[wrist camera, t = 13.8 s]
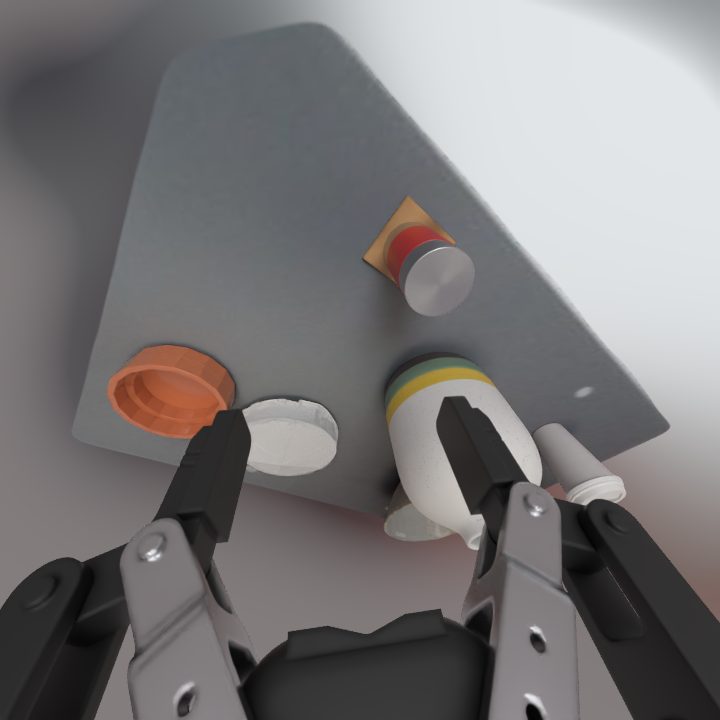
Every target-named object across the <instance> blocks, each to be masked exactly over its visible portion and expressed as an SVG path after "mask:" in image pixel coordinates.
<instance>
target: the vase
mask: <svg viewBox="0 0 720 720" xmlns="http://www.w3.org/2000/svg"><path fill="white" fill-rule="evenodd" d="M447 396H465V397H466V398H467V400H468V402H469V403H470V405H471V407H472V408H479V409H480V410H481V411H482V412H483V413H484V414H486V415H487V416H488V417H489V419H490V420H491V422H492V423H493V425H494V426H495V428H496V431H498V433H499V434H500V436H501V438H502V441H504V442H505V444H506V445H507V447H508V449H509V450H510V452H511V453H512V455H513V457H514V458H515V460H516V461H517V463H518V464H519V466H520V468H521V469H522V471H523V472H524V474H525V476H526V477H527V478H528V480H529V481H530V482H531V483H533V484H536V485H538V486H540V483H541V478H542V465H541V459H540V456H539V452H538V449H537V447H536V445H535V442H534V440H533V439H532V437H531V435H530V434H529V432H528V430H527V429H526V428H525V426H524V425H523V423H522V422H521V421H520V419H519V418H518V417H517V415H516V414H515V412H514V411H513V410H512V408H511V407H510V406H509V404H508V403H507V402H506V400H505V399H504V398H503V396H502V395H501V394H500V392H499V391H498V390H497V388H496V387H495V386H494V384H493V383H492V382H491V380H490V379H489V378H488V376H487V375H486V374H485V373H484V372H483V370H482V369H481V368H480V367H478V366H477V365H476V364H475V363H474V362H472V361H471V360H469V359H467V358H465V357H463V356H460V355H458V354H454V353H449V352H433V353H428V354H424V355H421V356H418V357H416V358H414V359H412V360H410V361H408V362H407V363H405V364H404V365H403V366H401V367H400V368H399V369H398V370H397V371H396V372H395V374H394V375H393V376H392V378H391V379H390V381H389V383H388V386H387V389H386V393H385V399H384V407H385V415H386V420H387V425H388V430H389V434H390V439H391V443H392V448H393V452H394V457H395V461H396V466H397V470H398V474H399V477H400V480H401V483H402V486H403V488H404V490H405V493H406V494H407V496H408V498H409V499H410V501H411V502H412V503H413V505H414V506H415V507H416V508H417V510H418V511H419V512H420V513H422V514H423V515H424V516H426V517H427V518H429V519H430V520H432V521H434V522H436V523H438V524H440V525H442V526H444V527H446V528H449V529H451V530H453V531H455V532H457V533H459V534H460V535H461V536H462V537H463V539H464V540H465V542H466V544H467V546H468V547H469V548H471V549H474V550H478V549H479V544H480V539H481V534H482V529H483V525H484V523H485V521H484V519H483V517H482V514H478V515H470V512H469V510H468V507H467V505H466V503H465V500H464V498H463V495H462V493H461V490H460V488H459V485H458V483H457V481H456V478H455V476H454V473H453V471H452V468H451V466H450V464H449V461H448V459H447V456H446V454H445V451H444V449H443V446H442V444H441V442H440V439H439V437H438V434H437V430H436V420H437V416H438V413H439V410H440V407H441V404H442V401H443V398H444V397H447Z"/></svg>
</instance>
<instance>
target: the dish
mask: <svg viewBox="0 0 720 720" xmlns="http://www.w3.org/2000/svg"><path fill="white" fill-rule="evenodd" d="M107 395H108V398H109V400H110V402H111V405H112V407H113V409H114V410H115V411H117V412H118V413H119V414H120V415H121V416H122V417H123V418H124V419H125V420H126V421H128V422H130V423H132V424H134V425H135V426H137V427H139V428H141V429H143V430H145V431H147V432H150V433H154V434H158V435H161V436H165V437H171V438H186V439H188V438H193V436H194V435H195V434H196V433H197V432H198V431H199V430H200V429H201V428H202V427H203V426H209V425H212V423H213V420H214V418H215V415H216V413H217V412H218V411H219V410H230V409H231V406H232V404H233V401H234V399H235V383H234V382H233V380H232V378H231V377H230V375H229V373H228V372H227V370H226V369H225V368H223V367H222V366H221V365H220V364H219V363H217V362H216V361H215V360H214V359H212V358H211V357H209V356H207V355H204V354H202V353H200V352H197V351H195V350H193V349H190V348H186V347H179V346H172V345H161V346H155V347H149V348H144V349H143V350H141V351H140V352H138V353H137V354H136V355H134V356H133V357H131V358H130V359H129V360H128V361H127V362H126V363H125V364H124V365H123V366H122V367H121V368H120V369H119V370H118V371H117V372H116V373H115V374H114V375H113V376H112V377H111V378H110V382H109V385H108V389H107Z"/></svg>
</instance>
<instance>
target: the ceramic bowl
mask: <svg viewBox="0 0 720 720" xmlns="http://www.w3.org/2000/svg"><path fill="white" fill-rule="evenodd" d="M384 530H385V532H386V533H387V534H388V535H390V536H391V537H394V538H396V539H400V540H404V541H423V540H432V539H438V538H442V537H445V536H448V535H450V534H454V533H457V532H455V531H453V530H451V529H449V528H446V527H444V526H442V525H440V524H438V523H436V522H434V521H432V520H430V519H429V518H427V517H426V516H424V515H423V514H422V513H420V512H419V511H418V510H417V508H416V507H415V506H414V505H413V503H412V502H411V501H410V499H409V498H408V496H407V494H406V493H405V490H404V488H403V486H402V483H401V481H400V482H399V484H398V486H397V488H396V490H395V492H394V494H393V496H392V499H391V501H390V504H389V507H388V510H387V513H386V517H385V522H384Z"/></svg>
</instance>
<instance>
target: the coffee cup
mask: <svg viewBox="0 0 720 720" xmlns="http://www.w3.org/2000/svg"><path fill="white" fill-rule="evenodd" d="M532 438H533V440H534V442H535V443H536V445H537V447H538V448H539V450H540V452H541V453H542V455H543V457H544V458H545V460H546V461H547V463H548V465H549V466H550V468H551V470H552V471H553V473H554V475H555V476H556V478H557V480H558V481H559V483H560V485H561V486H562V488H563V490H564V491H565V493H566V499H567V500H568V501H569V502H573V503H577V504H581V505H585V506H586V505H587V504H588V503H589V502H591V501H592V500H594V499H605V500H609V501H611V502H614V503H617V502H619V501H620V500H621V499H623V498H624V497H625V496H626V491H625V489H624V484H623V482H622V480H621V478H620V477H618V476H614V475H613V474H612V473H611V472H610V471H608V469H606V468H605V467H604V466H603V465H602V464H601V463H600V462H599V461H598V460H597V459H596V458H595V457H594V456H593V455H592V454H591V453H590V452H589V451H588V450H587V449H586V448H585V447H584V446H582V445H581V444H580V443H579V442H578V441H577V440H576V439H575V438H574V437H573V436H572V435H571V434H570V433H569V432H568V431H567V430H566V429H565V428H564V427H563V426H562V425H561V424H558V423H551V424H547V425H544V426H542V427H540V428H539V429H537V430H536V431H535V432H534V433H533V436H532Z"/></svg>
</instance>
